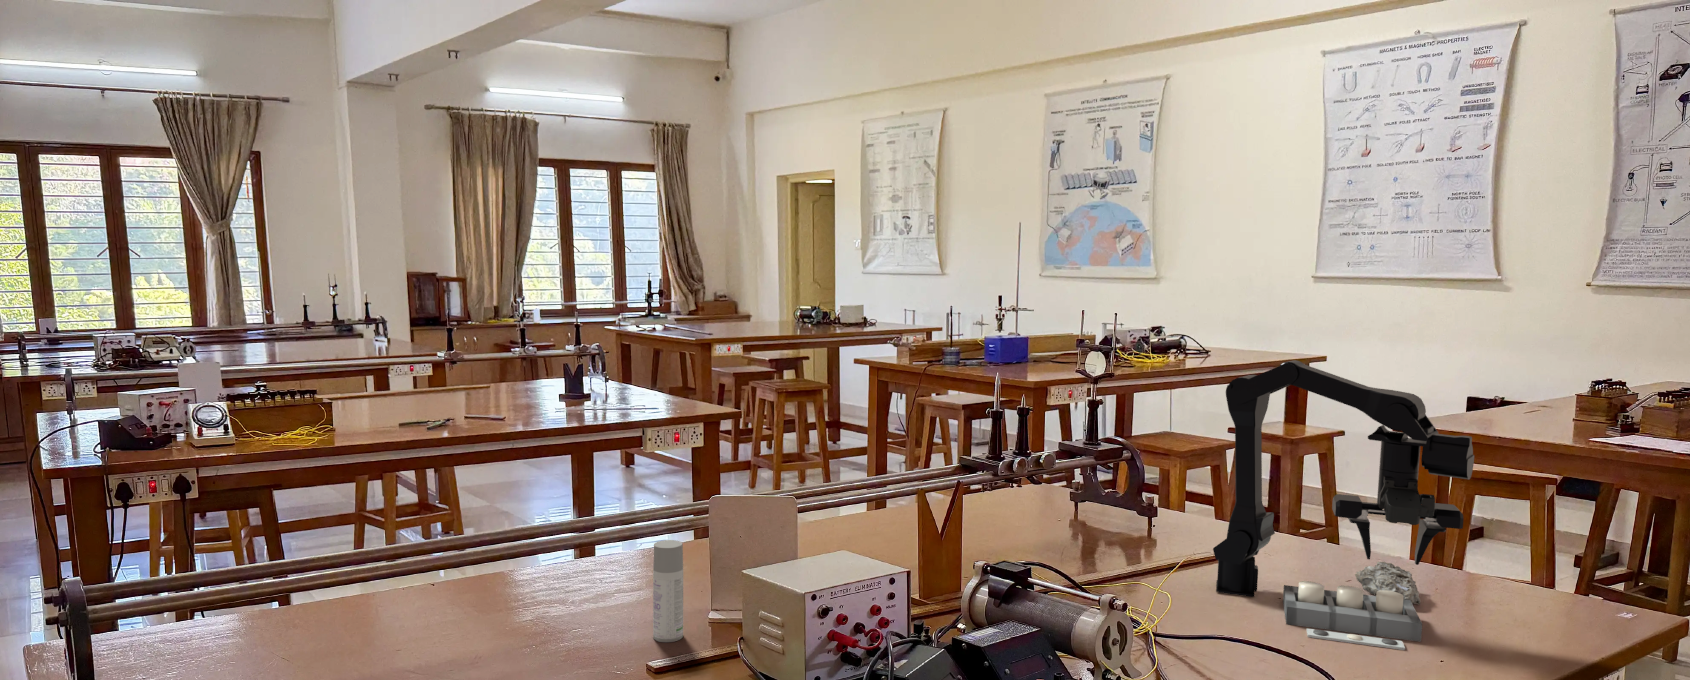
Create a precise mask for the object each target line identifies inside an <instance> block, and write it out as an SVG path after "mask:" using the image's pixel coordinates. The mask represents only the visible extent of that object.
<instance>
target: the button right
mask: <svg viewBox="0 0 1690 680" xmlns="http://www.w3.org/2000/svg"><path fill="white" fill-rule="evenodd" d="M1403 597H1404V596H1403V595H1402V594H1400V593H1397V592H1393V591H1387V590H1380V591H1377V593H1376V608H1375V611H1378V612H1386V613H1394V614H1402V612H1403Z"/></svg>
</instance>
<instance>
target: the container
mask: <svg viewBox="0 0 1690 680" xmlns="http://www.w3.org/2000/svg"><path fill="white" fill-rule="evenodd" d="M683 548H684V547H683V542H682V541H680V540H675V539H666V540H665V539H663V540H659V541H655V542H654V543H653V562H652V563H653V566H652V569H653V570H652V571H653V573H652V595H653V596H652V611H653V612H652V618H653V619H652V623H653V624H652V625H653V626H652V632H653V633H652V638H653V640H654V641H656V642H659V643H674V642H677V641H680V640H682V639H683V637H684V550H683Z"/></svg>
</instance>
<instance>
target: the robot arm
mask: <svg viewBox="0 0 1690 680" xmlns="http://www.w3.org/2000/svg"><path fill="white" fill-rule="evenodd" d="M1289 386H1294V387H1296V388H1299V389H1302V390H1305V391H1308V392H1311V393H1313V394H1315V395H1319V396H1321V397H1323V398H1327V399H1330V400H1332V401H1335V402H1338V403H1340V404H1344V405H1346V406H1349V407H1351V408H1354V409H1357V410H1359V411H1360V412H1362V413H1363V414H1365V415H1366V416H1368V417H1369V418H1370V419H1372V420H1373V421H1375V422H1377V423H1379V424H1380V425H1379V426H1378V427H1377V429H1375V431H1374V432H1372V433H1371V434H1369V435H1367V439H1368V440H1369V441H1376V442H1380V452H1379V453H1380V455H1379V468H1378V469H1379V470H1378V472H1379V473H1378V481H1377V483H1378V485H1377V497H1376V498H1377V499H1376V500H1377V501H1376V502H1367V501H1366V502H1365V501H1362V500H1361V498H1360V496H1359V495H1352V494H1351V495H1350V494H1338V493H1337V494H1335V495H1334V496H1333V498H1332V506H1331V509H1332V511H1333V515H1334V516H1335V517H1338V518H1342V519H1347V520H1348V521H1349V523H1350V524H1351V523H1352V524H1355V525H1356V527H1357V529H1358V532H1359V535H1360V537H1361V538H1360V539H1361V542H1362V546H1363V549H1364V552H1365V556H1366V559H1367V560H1371V553H1372V551H1371V550H1372V549H1371V548H1372V547H1371V546H1372V545H1371V534H1370V533H1371V532H1370V527H1371V526H1370V525H1371V522H1370V520H1369V518H1368V516H1369V515H1378V516H1379V515H1380V516H1385V520H1386V521H1387V522H1389V523H1391V524H1397V523H1399V524H1400V523H1401V524H1409V525H1410V526H1416V525H1418V529H1417V537H1416V542H1415V543H1416V544H1415V551H1414V564H1415V565H1417V566H1418V565H1419V564H1420V562H1421V560H1422V559H1423V556H1424V554H1425V552H1426V551H1427V549H1428V546H1429V545H1430V543H1431V542H1432V540H1433V539H1434V537H1435V536H1436V535H1438V534H1439V533H1446V531H1447V529H1456V530H1462V529H1464V518H1465V517H1464V514H1463V512H1462V511H1460V509H1459V508H1458V507H1457V506H1456V505H1455V504H1449V503H1436V498H1435V495H1434V494H1430V493H1429V494H1427V493H1420V492H1419V488H1418V486H1419V483H1418V481H1419V472H1420V471H1419V470H1420V469H1419V468H1420V457H1421V466H1422V467H1423V468H1424V470H1427V472H1428V474H1429V475H1436V476H1441V477H1449V478H1457V479H1463V480H1470V479H1471V478H1472V475H1473V470H1474V464H1475V454H1474V448H1473V447H1474V446H1473V444H1472V443H1473V441H1472V440H1473V437H1472V436H1471V435H1470V436H1469V435H1453V434H1451V435H1450V434H1442V433H1439V431H1438V430H1437V429H1436V427H1435V426H1434V424H1433V423H1432V421H1431V420H1430V419H1429V416H1427V414H1426V412H1427V411H1426V404H1425V403H1424V401H1423V400H1422V398H1421V397H1419V396H1418V395H1416V394H1414V393H1410V392H1406V391H1399V390H1395V389H1394V390H1393V389H1389V388H1388V389H1387V388H1379V387H1372V386H1368V385H1365V384H1363V383H1362V384H1361V383H1358V382H1356V381H1353V380H1350V379H1348V378H1344V377H1342V376H1338V375H1337V374H1333V373H1330V372H1327V371H1324V370H1321V369H1319V368H1316V367H1313V366H1310V365H1307V364H1305V363H1303V362H1302V361H1300V360H1295V359H1294V360H1289V361H1285V362H1283V363H1281V364H1279V365H1278V366H1276V367H1273V368H1271V369H1270V370H1267V371H1264V372H1262V373H1260V374H1249V375H1244V376H1239V377H1236V378H1235V379H1233V380H1231V381H1230V382H1229V383H1228V384H1227V385H1226V388H1225V398H1226V403H1227V409H1228V412H1229V415H1230V418H1231V420H1232V422H1233V424H1234V440H1235V441H1234V442H1235V443H1234V446H1235V447H1234V449H1235V451H1234V452H1235V454H1234V459H1235V461H1234V465H1235V467H1234V469H1235V474H1234V475H1235V503H1234V506H1233V509H1232V512H1231V514H1230V515H1231V516H1230V518H1229V520H1228V528H1227V534H1226V538H1225V539H1224V540H1222V541H1221V542H1219V543H1218V544H1216V546H1214V547H1213V549H1212V551H1213V554H1214V558H1215V560H1217V561H1218V562H1217V577H1216V579H1217V580H1216V581H1215V582H1216V583H1215V584H1216V585H1215V587H1216V589H1215V592H1216V593H1219V594H1226V595H1227V594H1228V595H1235V596H1242V597H1243V596H1244V597H1252V598H1254V597H1255V592H1257V591H1258V582H1259V581H1258V579H1259V577H1258V576H1259V566H1258V565H1257V564H1256V557H1255V556H1257V555H1258V554H1259V552H1260V550H1261V549H1263V548H1265V546H1267V545H1268V544H1269V542H1270V541H1271V539H1272V536H1273V535H1275V534H1276V533H1275V530H1274V526H1273V525H1274V523H1273V522H1274V519H1275V518H1274V517H1275V513H1274V512H1270V511H1269V512H1267V511H1266V509H1265V506H1264V504H1263V481H1262V479H1263V476H1262V475H1263V464H1262V463H1263V462H1262V461H1263V460H1262V459H1263V458H1262V455H1263V451H1262V449H1263V448H1262V443H1263V442H1262V427H1263V422H1264V419H1265V416H1266V414H1267V411H1268V407H1269V401H1270V396H1271V395H1272V394H1274V393H1275V392H1276V393H1277V392H1279V391H1280V390H1283V389H1284V388H1287V387H1289ZM1389 429H1390V430H1389ZM1421 447H1422V450H1421ZM1421 451H1422V452H1421ZM1420 453H1421V454H1420Z"/></svg>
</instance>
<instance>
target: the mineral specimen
mask: <svg viewBox="0 0 1690 680" xmlns="http://www.w3.org/2000/svg"><path fill="white" fill-rule="evenodd" d="M1354 575H1355V578H1356V580H1357V582H1358V583H1359V584H1361V587H1362V590H1363V591H1366V592H1367V593H1369V594H1372V596H1376V593H1377V591H1380V590H1387V591H1393V592H1397V593H1400V594H1402V595H1403V596H1404V597H1403V599H1404V600H1410V601H1411V603H1412V605H1413V604H1416V605H1421V597H1419V595H1420V591H1419V589H1418V587H1417V584H1416V581H1415V580H1414V579H1413V573H1411V572H1410V571H1409V570H1405V569H1403V568H1401V567H1400V566H1399V565H1396V566H1395V565H1394V564H1393V563H1391V562H1386V561H1377V562H1376V564H1375V565H1374V566H1373V565H1368V566H1367V565H1366V566H1364V568H1363V569H1362V570H1359V571H1356V573H1355V574H1354Z"/></svg>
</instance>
